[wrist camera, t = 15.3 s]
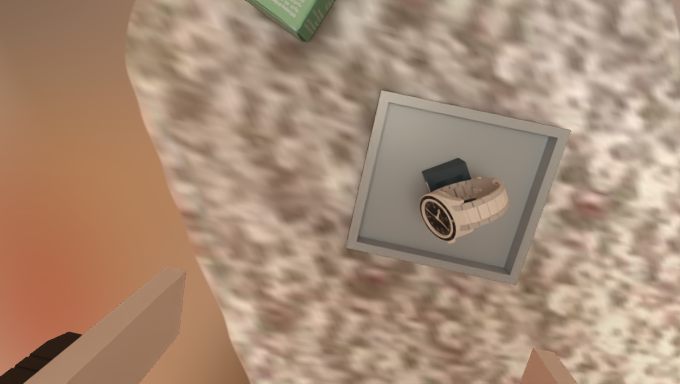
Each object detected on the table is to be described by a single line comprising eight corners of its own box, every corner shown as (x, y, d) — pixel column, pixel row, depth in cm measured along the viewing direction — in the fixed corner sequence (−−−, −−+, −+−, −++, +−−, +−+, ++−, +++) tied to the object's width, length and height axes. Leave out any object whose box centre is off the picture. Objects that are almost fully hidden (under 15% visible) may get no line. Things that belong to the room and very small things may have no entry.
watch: (405, 177, 43) (418, 202, 32) (473, 152, 42) (510, 169, 31) (421, 221, 44) (438, 259, 33) (488, 197, 43) (529, 229, 32)
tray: (507, 275, 45) (516, 285, 43) (347, 240, 46) (346, 247, 43) (558, 128, 41) (571, 130, 38) (380, 91, 41) (381, 90, 39)
